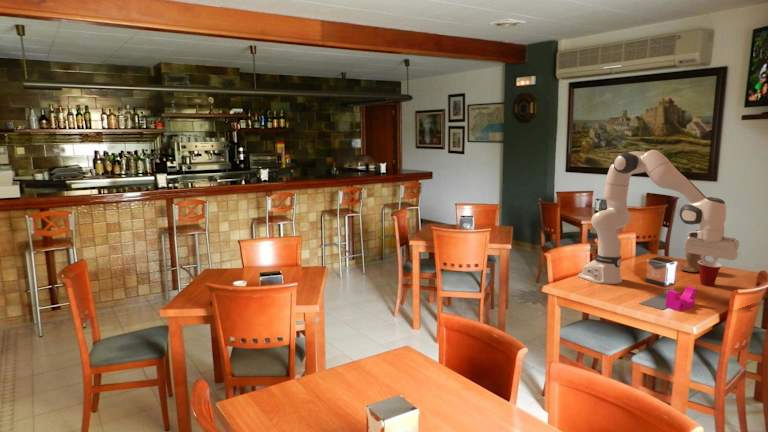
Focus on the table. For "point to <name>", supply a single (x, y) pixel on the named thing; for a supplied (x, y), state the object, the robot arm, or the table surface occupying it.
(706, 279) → the plastic cup
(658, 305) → the rubber mat
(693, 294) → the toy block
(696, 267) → the stone cup
